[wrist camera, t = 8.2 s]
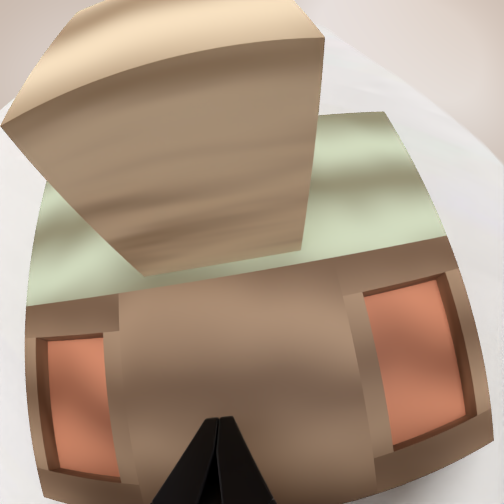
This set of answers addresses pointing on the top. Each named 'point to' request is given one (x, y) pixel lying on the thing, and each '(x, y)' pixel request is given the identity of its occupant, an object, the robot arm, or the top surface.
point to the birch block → (179, 126)
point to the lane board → (262, 344)
